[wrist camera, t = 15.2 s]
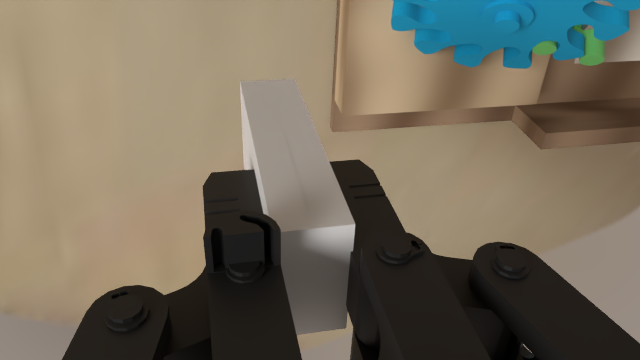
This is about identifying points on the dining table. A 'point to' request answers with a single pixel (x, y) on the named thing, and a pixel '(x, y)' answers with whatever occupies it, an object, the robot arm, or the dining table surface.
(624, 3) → the gear
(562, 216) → the dining table surface
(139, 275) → the dining table surface
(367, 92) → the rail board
